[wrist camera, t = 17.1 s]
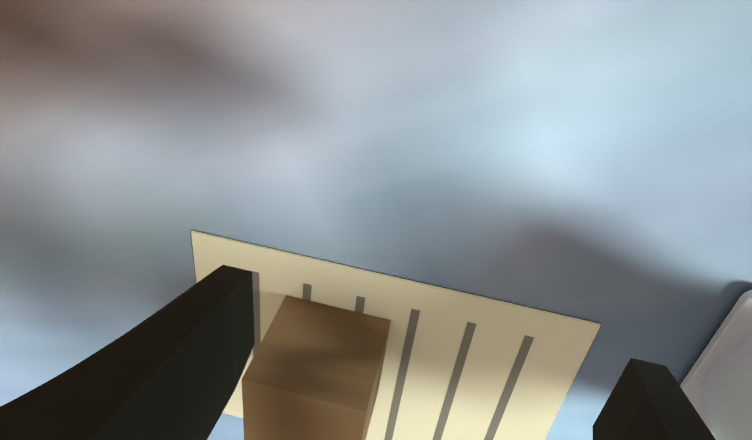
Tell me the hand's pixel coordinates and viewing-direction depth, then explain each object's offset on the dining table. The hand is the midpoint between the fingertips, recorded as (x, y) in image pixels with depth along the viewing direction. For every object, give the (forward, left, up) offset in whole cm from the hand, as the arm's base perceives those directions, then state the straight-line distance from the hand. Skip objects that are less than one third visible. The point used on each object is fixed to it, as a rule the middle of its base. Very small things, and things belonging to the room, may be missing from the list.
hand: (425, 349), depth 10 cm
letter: (+2, +14, -10) cm, 17 cm away
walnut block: (+4, +12, -10) cm, 17 cm away
